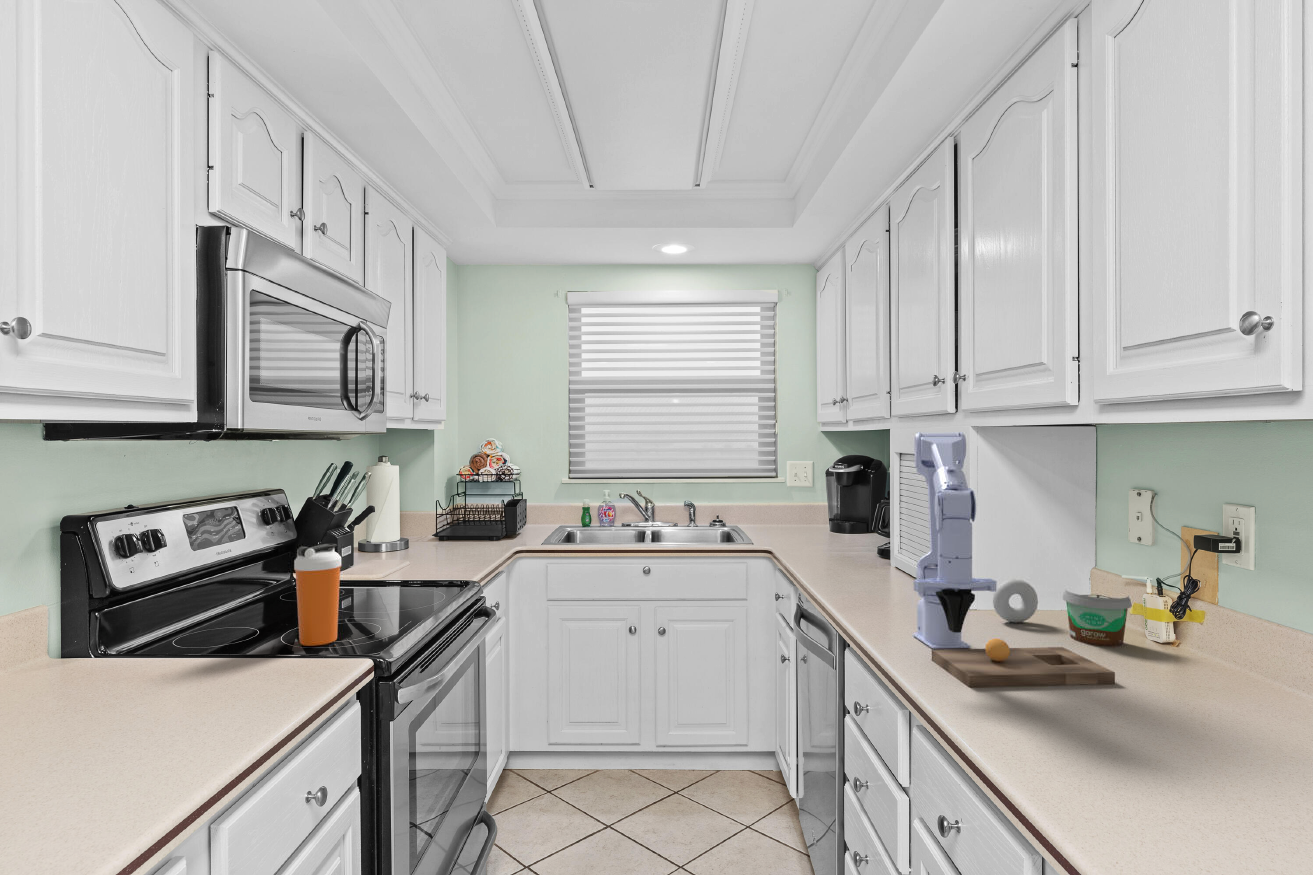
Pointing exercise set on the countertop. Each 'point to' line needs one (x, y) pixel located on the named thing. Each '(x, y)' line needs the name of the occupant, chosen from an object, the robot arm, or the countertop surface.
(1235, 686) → the countertop surface
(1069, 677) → the board
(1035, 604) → the donut
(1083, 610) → the food container
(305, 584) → the shaker bottle
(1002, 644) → the ball
